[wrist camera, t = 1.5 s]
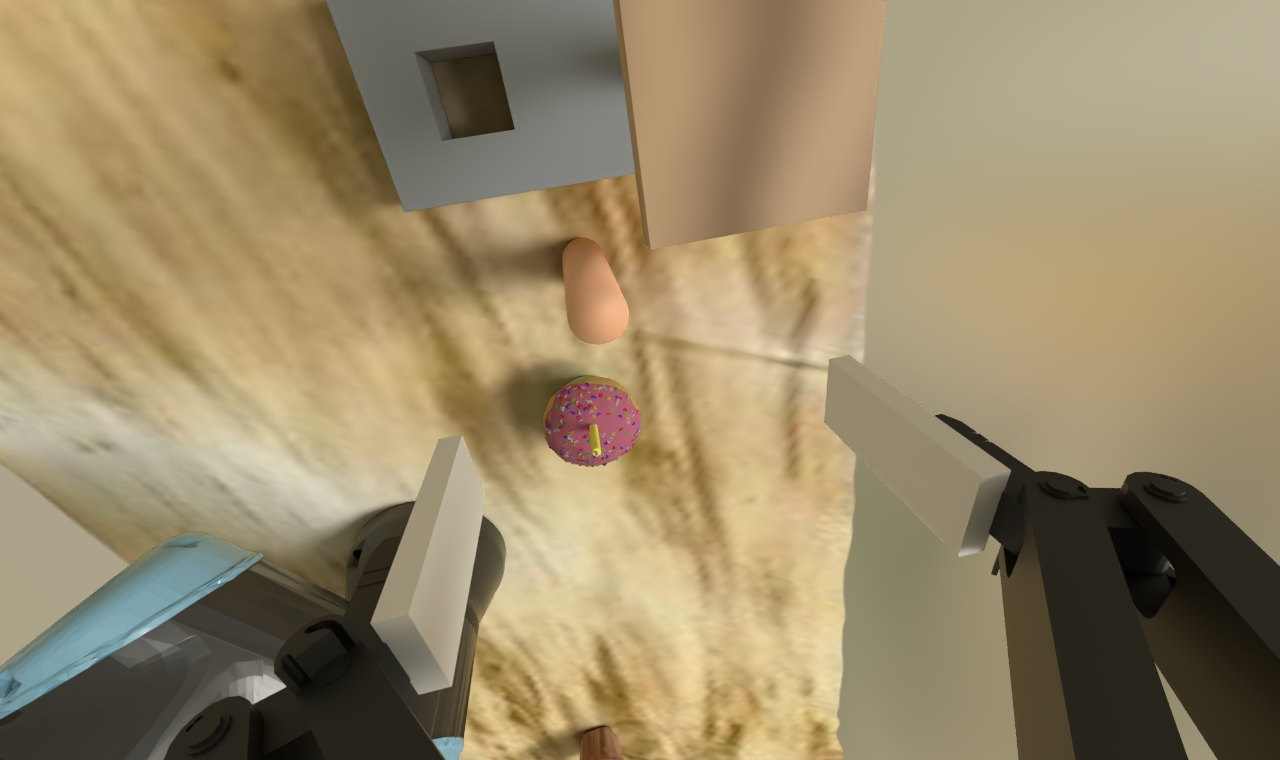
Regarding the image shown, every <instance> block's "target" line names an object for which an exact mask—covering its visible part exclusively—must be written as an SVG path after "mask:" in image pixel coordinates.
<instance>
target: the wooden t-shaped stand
mask: <svg viewBox="0 0 1280 760" xmlns="http://www.w3.org/2000/svg"><path fill="white" fill-rule="evenodd" d="M886 5H887V0H613V7H614V15H615V22H616V30H617V38H618V45H619V53H620V60H621V68H622V76H623V83H624V91H625V98H626V106H627V114H628V121H629V129H630V136H631V144H632V152H633V159H634V167H635V174H636V182H637V190H638V197H639V205H640V212H641V220H642V228H643V235H644V243H645V244H646V245H647V246H648V247H649V248H650V249H657V248H662V247H668V246H673V245H679V244H684V243H690V242H695V241H701V240H706V239H711V238H717V237H722V236H728V235H733V234H739V233H744V232H750V231H755V230H761V229H766V228H772V227H777V226H782V225H788V224H793V223H799V222H804V221H810V220H815V219H821V218H826V217H832V216H837V215H843V214H848V213H853V212H859V211H864V210H867V199H868V189H869V179H870V169H871V159H872V148H873V138H874V128H875V118H876V108H877V97H878V87H879V77H880V66H881V57H882V46H883V36H884V26H885V16H886Z"/></svg>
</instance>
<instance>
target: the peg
mask: <svg viewBox="0 0 1280 760" xmlns="http://www.w3.org/2000/svg"><path fill="white" fill-rule="evenodd" d="M562 264H563V275H564V286H565V296H566V307H567V318H568V323H569V326H570V328H571V330H572V332H573V333H574V334H575V335H576V336H577V337H578V338H579V339H581V340H583V341H585V342H587V343H591V344H605V343H608V342H611V341H613V340H615V339H616V338H617V337H619V336H620V335H621V334H622V332H623V331H624V330H625V328H626V326H627V323H628V319H629V310H628V306H627V303H626V301H625V299H624V297H623V295H622V292H621V290H620V288H619V286H618V284H617V282H616V280H615V278H614V275H613V273H612V271H611V269H610V267H609V265H608V263H607V260H606V258H605V256H604V254H603V252H602V250H601V248H600V246H599V245H598V244H597V243H596V242H594V241H593V240H591V239H588V238H577V239H574V240H572V241H571V242H569V243H568V244H567V245H566V247H565V248H564V251H563V254H562Z"/></svg>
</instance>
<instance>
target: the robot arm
mask: <svg viewBox="0 0 1280 760" xmlns="http://www.w3.org/2000/svg"><path fill="white" fill-rule="evenodd" d="M824 422H825V423H826V424H827V425H828V426H829V427H830V428H831V429H832V430H833V431H834V432H835V433H836V434H837V435H838V436H839V438H840V439H841V440H842V441H843V442H844V443H845V444H846V445H847V446H848V447H849V448H850V449H851V450H852V451H853V452H854V453H855V454H856V455H857V456H858V457H859V458H860V459H861V460H862V461H863V462H864V463H865V464H866V465H867V466H868V467H869V468H870V469H871V470H872V471H873V472H874V473H875V474H876V475H877V476H878V477H879V478H880V479H881V480H882V481H883V482H884V483H885V484H886V485H887V486H888V487H889V488H890V489H891V490H892V491H893V492H894V493H895V494H896V495H897V496H898V497H899V498H900V499H901V500H902V501H903V502H904V503H905V505H907V507H908V508H909V509H910V510H911V511H912V512H913V513H914V514H915V515H916V516H917V517H918V518H919V519H920V520H921V521H922V522H923V523H924V524H925V525H926V526H927V527H928V528H929V529H930V530H931V531H932V532H933V533H934V534H935V535H936V536H937V537H938V538H939V539H940V540H941V541H942V542H943V543H944V544H945V545H946V546H947V547H948V548H949V549H950V550H951V551H952V552H953V553H954V554H955V555H956V556H957V557H961V556H965V555H969V554H972V553H977V552H981V551H984V549H985V546H986V543H987V540H988V537H989V534H990V535H992V536H993V537H994V538H995V539H996V540H997V541H998V542H999V543H1001V547H1000V550H999V553H998V555H997V558H996V561H995V563H994V566H993V569H992V573H991V574H993V575H997V573H998V570H999V569H1000V576H1001V584H1002V585H1001V586H1002V596H1003V606H1004V616H1005V626H1006V636H1007V646H1008V656H1009V666H1010V677H1011V686H1012V697H1013V707H1014V716H1015V727H1016V737H1017V747H1018V757H1019V760H1188V757H1187V754H1186V752H1185V749H1184V746H1183V743H1182V740H1181V737H1180V734H1179V732H1178V729H1177V726H1176V723H1175V720H1174V717H1173V714H1172V712H1171V709H1170V706H1169V703H1168V700H1167V697H1166V694H1165V692H1164V689H1163V686H1162V683H1161V680H1160V677H1159V674H1158V672H1157V669H1156V666H1155V663H1156V665H1157V667H1158V668H1159V670H1160V671H1161V673H1162V674H1163V676H1164V677H1165V679H1166V680H1167V682H1168V683H1169V685H1170V687H1171V688H1172V690H1173V691H1174V693H1175V694H1176V696H1177V697H1178V699H1179V700H1180V702H1181V703H1182V705H1183V707H1184V708H1185V710H1186V711H1187V713H1188V714H1189V716H1190V717H1191V719H1192V721H1193V722H1194V724H1195V725H1196V726H1197V728H1198V730H1199V731H1200V733H1201V734H1202V736H1203V737H1204V739H1205V741H1206V742H1207V744H1208V745H1209V747H1210V748H1211V750H1212V751H1213V753H1214V755H1215V756H1216V758H1217V759H1218V760H1280V566H1279V565H1278V564H1277V563H1276V562H1275V561H1274V560H1273V559H1272V558H1271V557H1269V556H1268V555H1267V554H1266V553H1265V552H1264V551H1263V550H1262V549H1261V548H1260V547H1259V546H1258V545H1257V544H1256V543H1255V542H1254V541H1253V540H1251V538H1249V537H1248V536H1247V535H1246V534H1245V533H1244V532H1243V531H1242V530H1241V529H1240V528H1239V527H1238V526H1237V525H1236V524H1235V523H1234V522H1232V521H1231V520H1230V519H1229V518H1228V517H1227V516H1226V515H1225V514H1224V513H1223V512H1222V511H1221V510H1220V509H1219V508H1218V507H1217V506H1216V505H1215V504H1214V503H1213V502H1211V501H1210V500H1209V499H1208V498H1207V497H1206V496H1205V495H1204V494H1203V493H1202V492H1200V491H1199V490H1197V489H1196V488H1194V487H1193V486H1191V485H1190V484H1187V483H1185V482H1183V481H1181V480H1179V479H1177V478H1173V477H1169V476H1167V475H1163V474H1158V473H1151V472H1135V473H1132V474H1130V475H1128V476H1127V478H1126V479H1125V481H1124V484H1123V485H1122V487H1121V488H1089V487H1088V486H1086V485H1085V484H1083V483H1082V482H1080V481H1078V480H1076V479H1074V478H1072V477H1070V476H1067V475H1063V474H1060V473H1056V472H1047V471H1039V472H1035V471H1033V470H1032V469H1030V468H1029V467H1027V466H1026V465H1024V464H1023V463H1022V462H1020V461H1019V460H1017V459H1016V458H1014V457H1013V456H1011V455H1010V454H1008V453H1007V452H1005V451H1004V450H1002V449H1001V448H1000V447H998V446H997V445H995V444H994V443H992V442H989V441H988V439H986V438H984V437H983V436H982V435H980V434H977V433H976V431H974V430H973V429H971V428H970V427H968V426H967V425H966V424H964V423H963V422H961V421H959V420H956V419H953V418H951V417H948V416H946V415H943V414H939V415H935V416H934V415H933V414H931V413H930V412H928V411H926V410H925V409H924V408H923V407H921V406H920V405H918V404H917V403H916V402H914V401H913V400H911V399H910V398H909V397H907V396H906V395H904V394H903V393H902V392H900V391H899V390H897V389H896V388H894V387H893V386H892V385H890V384H889V383H887V382H886V381H885V380H883V379H882V378H880V377H879V376H878V375H876V374H875V373H873V372H872V371H871V370H869V369H868V368H866V367H865V366H863V365H862V364H861V363H859V362H858V361H856V360H855V359H854V358H852V357H851V356H849V355H848V356H843V357H838V358H833V359H829V369H828V381H827V394H826V407H825V419H824ZM485 499H486V494H485V492H484V489H483V487H482V484H481V482H480V479H479V477H478V474H477V471H476V469H475V466H474V464H473V461H472V459H471V456H470V454H469V451H468V448H467V446H466V443H465V441H464V438H463V436H462V435H458V436H453V437H448V438H443V439H439V440H438V443H437V446H436V448H435V451H434V454H433V456H432V459H431V462H430V464H429V467H428V470H427V472H426V475H425V478H424V480H423V483H422V486H421V489H420V491H419V494H418V497H417V499H416V502H412V503H407V504H403V505H399V506H396V507H393V508H390V509H388V510H386V511H384V512H382V513H380V514H378V515H377V516H375V517H374V518H373V519H371V520H370V521H369V522H368V523H367V524H366V525H365V526H364V527H363V529H362V530H361V531H360V533H359V535H358V537H357V539H356V541H355V543H354V545H353V547H352V549H351V551H350V554H349V557H348V561H347V570H346V593H345V599H344V598H342V597H340V596H338V595H336V594H334V593H332V592H330V591H328V590H326V589H324V588H322V587H320V586H318V585H316V584H314V583H312V582H310V581H308V580H306V579H304V578H302V577H300V576H298V575H296V574H294V573H292V572H290V571H288V570H286V569H284V568H282V567H280V566H278V565H276V564H274V563H272V562H270V561H268V560H266V559H265V558H263V554H262V553H260V552H258V551H257V552H250V551H248V550H246V549H243V548H241V547H239V546H236V545H234V544H232V543H229V542H227V541H225V540H222V539H220V538H218V537H216V536H213V535H210V534H207V533H201V532H191V533H184V534H180V535H177V536H174V537H172V538H169V539H167V540H165V541H163V542H162V543H160V544H159V545H157V546H156V547H154V548H153V549H151V550H150V551H149V552H147V553H146V554H144V555H143V556H142V557H140V558H139V559H138V560H136V561H135V562H134V563H132V564H131V565H130V566H128V567H127V568H126V569H124V570H123V571H122V572H120V573H119V574H118V575H116V576H115V577H114V578H112V579H111V580H110V581H108V582H107V583H106V584H105V585H103V586H102V587H101V588H99V589H98V590H97V591H96V592H94V593H93V594H92V595H91V596H89V597H88V598H87V599H85V600H84V601H83V602H81V603H80V604H79V605H77V606H76V607H75V608H73V609H72V610H71V611H70V612H68V613H67V614H66V615H64V616H63V617H62V618H61V619H59V620H58V621H57V622H55V623H54V624H53V625H52V626H50V627H49V628H48V629H46V630H45V631H44V632H43V633H41V634H40V635H39V636H38V637H37V638H36V639H34V640H33V641H31V642H30V643H29V644H27V645H26V646H25V647H24V648H22V649H21V650H20V651H19V652H17V653H16V654H15V655H14V656H12V657H11V658H10V659H9V660H7V661H6V662H5V663H4V664H3V665H1V666H0V760H459V756H460V753H461V752H462V750H463V747H464V740H463V739H464V731H465V724H466V716H467V709H468V701H469V694H470V686H471V679H472V672H473V664H474V657H475V649H476V641H477V634H478V628H479V623H480V621H481V619H482V618H483V616H484V614H485V612H486V610H487V608H488V606H489V604H490V602H491V600H492V598H493V596H494V594H495V592H496V590H497V588H498V587H499V585H500V582H501V580H502V577H503V573H504V566H505V557H506V548H505V543H504V540H503V537H502V535H501V534H500V532H499V531H498V529H497V528H496V527H495V526H494V525H493V524H492V523H491V522H490V521H489V520H488V519H487V518H485V517H484V516H483V510H484V505H485ZM1170 564H1171V565H1172V567H1173V568H1174V570H1173V569H1172V568H1171V567H1170ZM1154 662H1155V663H1154Z"/></svg>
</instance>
